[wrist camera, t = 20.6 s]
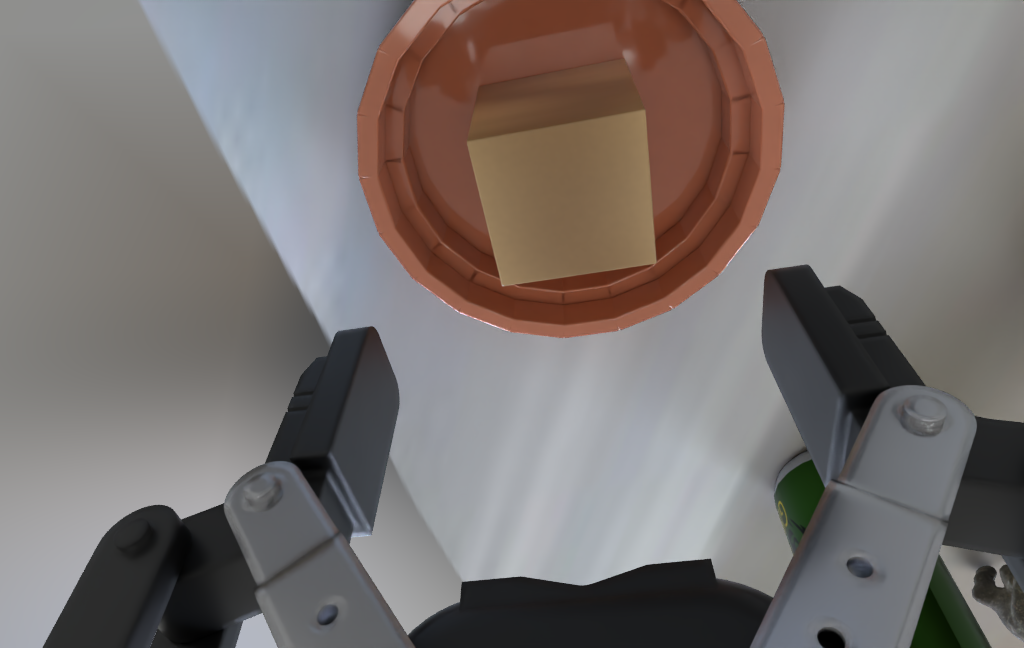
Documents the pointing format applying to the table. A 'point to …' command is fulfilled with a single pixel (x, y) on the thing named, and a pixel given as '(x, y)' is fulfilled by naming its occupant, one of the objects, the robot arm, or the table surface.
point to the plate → (670, 130)
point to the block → (564, 173)
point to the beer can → (945, 614)
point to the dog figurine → (1001, 597)
